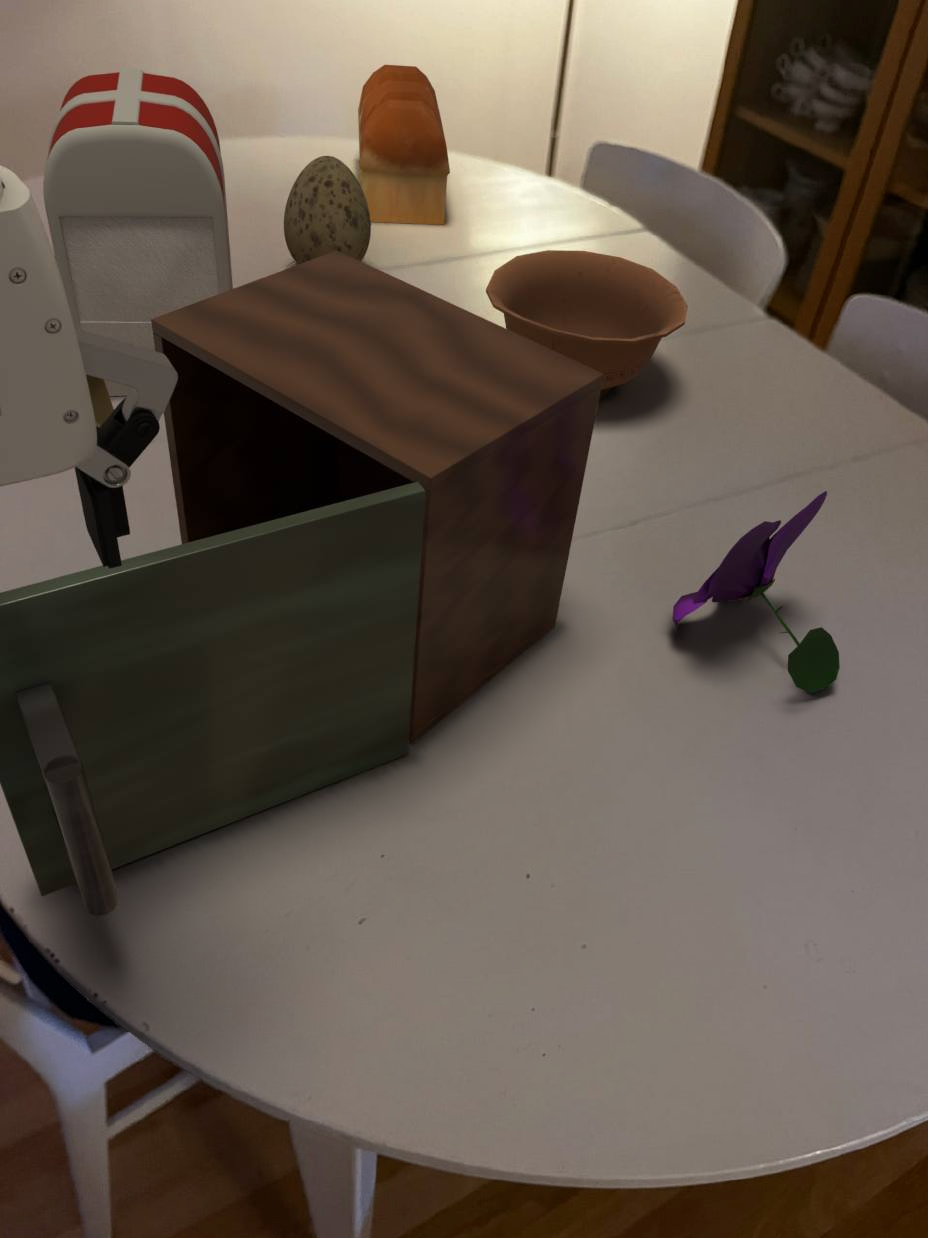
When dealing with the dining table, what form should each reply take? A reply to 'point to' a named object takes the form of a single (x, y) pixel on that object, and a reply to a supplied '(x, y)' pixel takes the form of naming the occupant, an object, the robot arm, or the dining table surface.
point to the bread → (402, 147)
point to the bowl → (589, 308)
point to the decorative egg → (326, 212)
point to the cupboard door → (205, 683)
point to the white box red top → (135, 203)
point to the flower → (750, 577)
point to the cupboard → (389, 445)
